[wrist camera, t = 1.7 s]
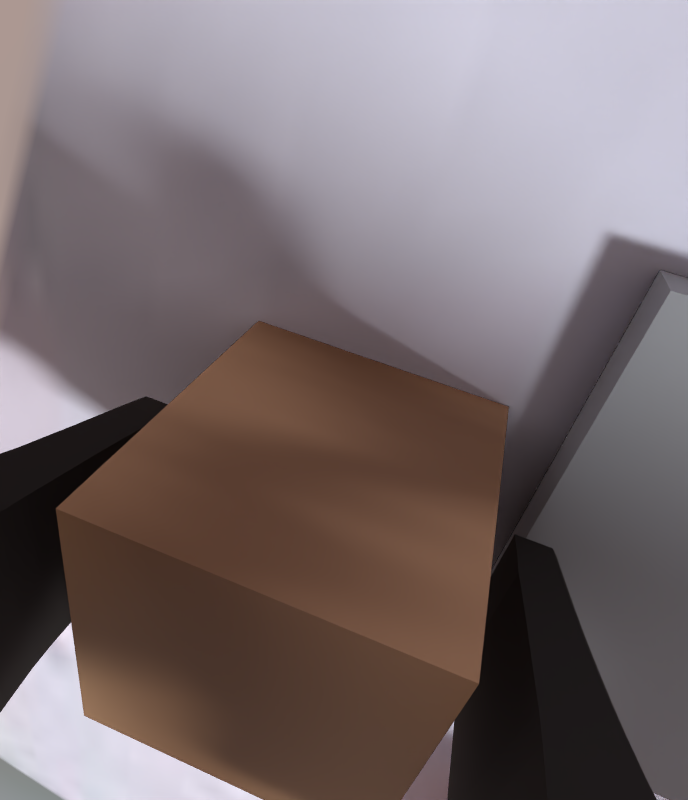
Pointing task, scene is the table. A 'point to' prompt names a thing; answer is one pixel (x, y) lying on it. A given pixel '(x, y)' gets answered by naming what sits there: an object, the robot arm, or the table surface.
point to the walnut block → (290, 570)
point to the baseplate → (631, 530)
